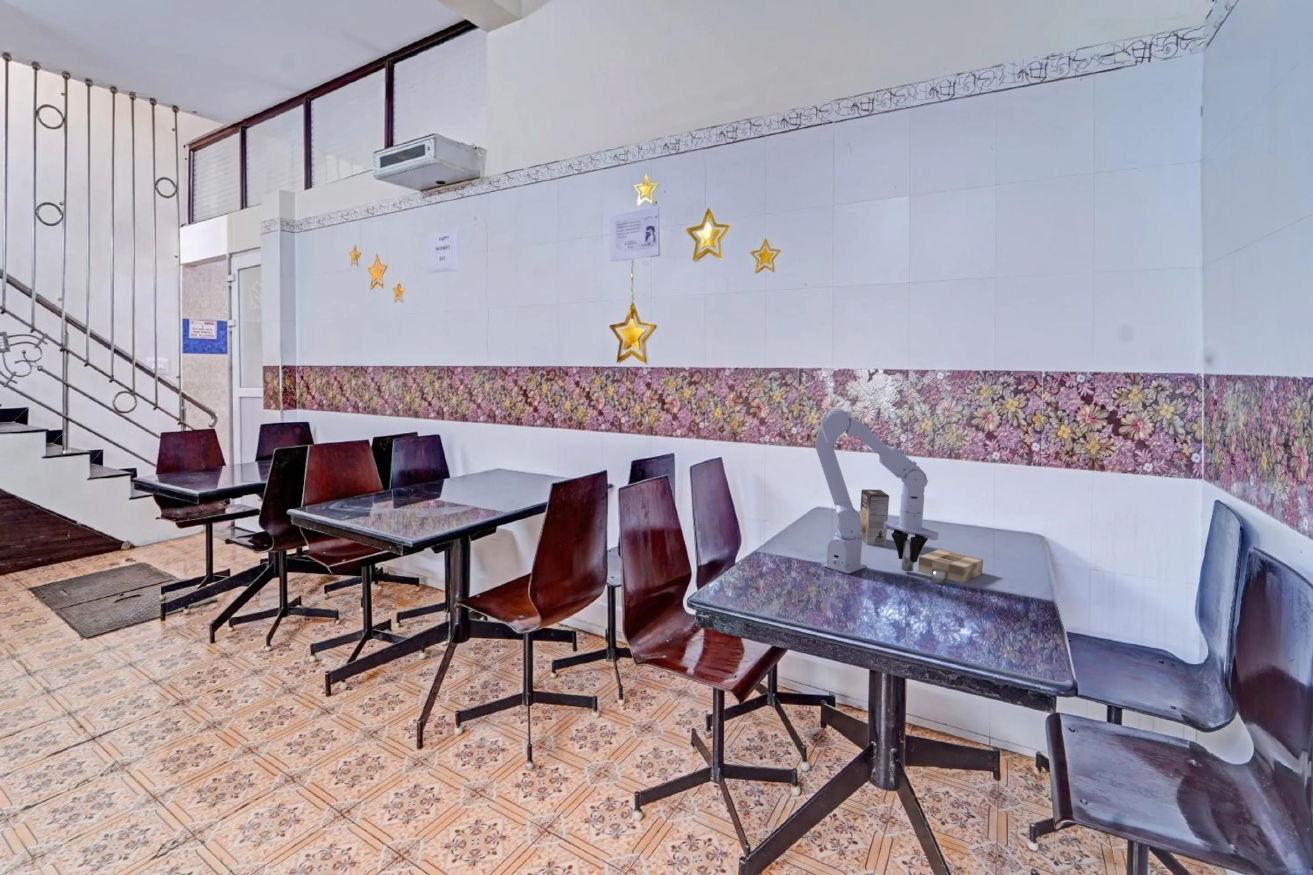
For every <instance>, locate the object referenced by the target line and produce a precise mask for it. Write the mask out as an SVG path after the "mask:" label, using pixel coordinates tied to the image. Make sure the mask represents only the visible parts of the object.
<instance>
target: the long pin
mask: <svg viewBox="0 0 1313 875" xmlns="http://www.w3.org/2000/svg"><path fill="white" fill-rule="evenodd" d="M911 553H912V546H911V539H908V538H907V539H905V540H903V552H902V559H901V567H900V569H901V570H902V571H904V572H914V565H915V564H914V563H915V562H914V563H913V562H911Z"/></svg>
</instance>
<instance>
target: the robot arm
mask: <svg viewBox="0 0 1313 875" xmlns="http://www.w3.org/2000/svg"><path fill="white" fill-rule="evenodd" d="M819 425H820V426H819V428H818V431H817V435H816V437H815V442H814V445H815V446H814V447H815V450H816V452H817V456H818V460H819V462H820V464H821V467H822V471H823V474H824V476H825V480H826V483H827V486H828V488H829V491H830V495H831V498H832V501H833V504H834V507H835V511H836V515H837V518H836V520H837V530H835V533H834V537H833V538H832V539H831V540H830V541H829V542H828V544H827V546H826V547H827V549H826V551H827V552H826V553H827V554H826V563H824V564H823V567H824V568H825V567H826V568H828V569H832V570H835V571H837V572H841V573H845V574H852V573H854V572H857V571H860V570H863V569H865V568H867V567H868V565H867V564H864V563H862V549H863V548H862V546H863V545H862V544H863V540H862V534H861V531H862V523H861V521H860V513H859V512H858V511H857V510H856V509H855V508H854V506H853V503H852V500H851V498H850V494H849V491H848V487H847V484H846V482H845V479H844V476H843V473H842V470H841V467H840V464H839V461H838V458H837V455H836V452H835V449H834V445H835V444H836V442H837V440H838V439H839V437H840V436H841V435H842V434H844V433H846V435H848V436H854V437H857V438H858V439H860V440H861V441H862V442H863V443H864V444H865V445H867V446H868V447H869V448H870V449H871V450H873V451H874V452H875V453H876V454H878V456H879V457H878V458H879V460H878V461H879V463H880V464H881V465H882V466H883V467H885V468H886V469H887V470H888V471H889V472H890V473H892V475H894V476H895V477H896V478H898V479H900V480H901V482H902V489H901V490H902V492H901V494H900V507H899V508H900V509H899V520H898V521H899V522H896V521H889V520H887V521H886V522H884V527H883V529H887V530H890V531H893V532H892V533H891V538H892V539H893V542H894V544H895V547H896V550H897V555H898V559H899V560H902V552H903V540H905V539H908V538H909V535H911V536H912V537H910V539H909V540H911V546H912V553H911V562H913V563H917V562H918V561H919V556H920V554H921V553H922V552H921V551H922V550H923V548H924V546H925V545H926V543H927V541H928V540H930V541H937V540H939V532H938V531H935V530H931V529H928V528H926V527H923V520H924V519H923V517H924V504H925V488H926V486H927V485H928V482H929V480H928V477H927V474H926V473H925V472H924V470H923V469H922V468H920V466H918V465H917V464H918V463H917V462H916V461H915V460H911V459H910V458H909V457H908V456H906V455H905V454H904V450H903V449H902V448H901V447H898V448H897V447H896V446H895V445H894V446H887V445H886V444H885V443H884V442H883V441H882V440H880V438H878V437H877V436H876V435H875V434H874V433H873V432H872V431H871V430H870V429H869V428H867V426H866V425H864V424H863V423H862V422H861V421H859V420H858V419H856V418H855V417H854V416H852V415H850V414H848V413H847V412H846V411H845V410H843V409H841V408H833V409H830V410H829V411H827V413H826V414H825V416H823V418H822V420H821V421H820V424H819Z"/></svg>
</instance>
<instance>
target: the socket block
mask: <svg viewBox="0 0 1313 875" xmlns="http://www.w3.org/2000/svg"><path fill="white" fill-rule="evenodd" d="M983 565H984V559H982V558H979V557H975V556H971V555H966V554H961V553H958V552H953V551H950V550H945V549H941V548H939V549H936V550H934V551H930V552H927V553H925V554H923V555H919V557H918V568H917V571H918V572H920V573H921V572H922V573H924V572H925V574H929V575H932V574H933V570H942V571H944V572H945V579H947V580H950V579H951V581H954V582H958V583H961V584H962V583H966V582H967V581H969V579H970V580H971V579H974V578H976V577H978V576H980V575H982V574H983V567H984V566H983Z"/></svg>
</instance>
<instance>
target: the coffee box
mask: <svg viewBox="0 0 1313 875" xmlns="http://www.w3.org/2000/svg"><path fill="white" fill-rule="evenodd" d="M860 497H861V498H860V510H859V511H860V512H859V515H860V521H861V523H862V531H861V534H862V542H864V544H866V545H868V546H869V545H871V546H872V545H874V546H875V545H876V546H886V544H887V533H888V532H887V531H888V529H883V527H884V522H886V521H888V519H889V518H888V516H889V506H890V504H889V502H890V495H889V494H887V493H886V492H884V491H883V490H881V489H861V496H860Z"/></svg>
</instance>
